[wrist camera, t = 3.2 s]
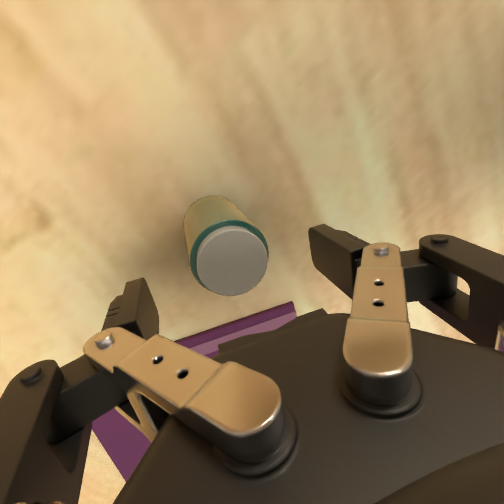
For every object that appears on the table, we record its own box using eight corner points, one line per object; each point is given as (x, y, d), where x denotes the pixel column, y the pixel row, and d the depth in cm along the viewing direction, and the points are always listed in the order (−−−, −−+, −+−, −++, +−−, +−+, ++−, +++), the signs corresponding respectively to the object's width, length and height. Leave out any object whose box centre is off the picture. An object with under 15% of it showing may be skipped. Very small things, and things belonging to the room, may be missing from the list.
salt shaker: (233, 188, 22) (264, 213, 15) (246, 242, 24) (280, 287, 17) (175, 204, 22) (179, 238, 15) (193, 258, 24) (204, 312, 16)
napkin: (292, 301, 27) (294, 303, 27) (319, 441, 35) (321, 445, 35) (63, 379, 24) (61, 384, 24) (149, 514, 32) (149, 519, 32)
